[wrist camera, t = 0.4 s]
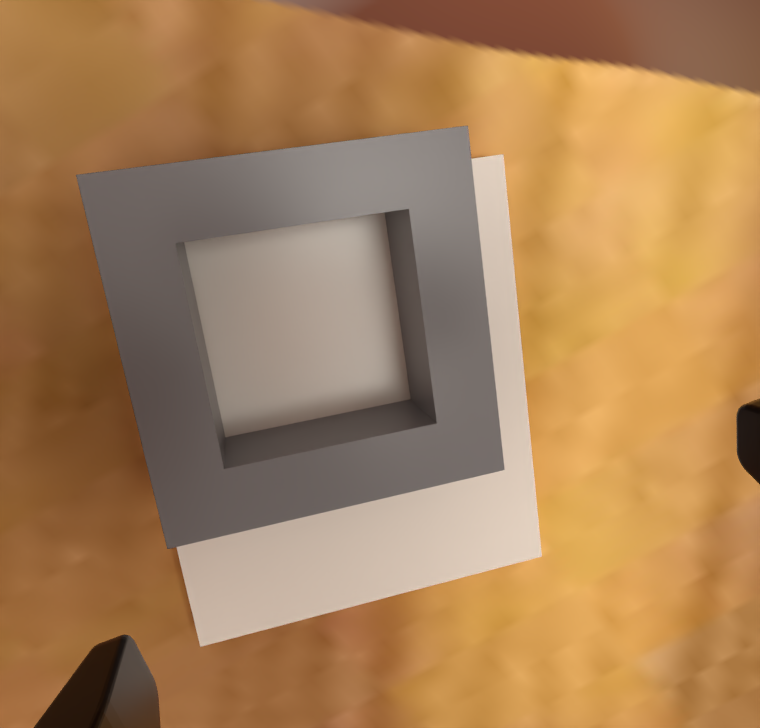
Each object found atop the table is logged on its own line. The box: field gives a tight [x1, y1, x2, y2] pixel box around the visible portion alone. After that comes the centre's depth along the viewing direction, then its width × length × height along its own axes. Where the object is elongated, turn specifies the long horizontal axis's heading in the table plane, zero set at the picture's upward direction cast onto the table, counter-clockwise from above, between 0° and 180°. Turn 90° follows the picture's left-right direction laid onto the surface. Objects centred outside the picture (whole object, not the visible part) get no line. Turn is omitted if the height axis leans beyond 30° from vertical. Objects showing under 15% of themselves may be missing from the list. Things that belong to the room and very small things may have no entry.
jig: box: [76, 126, 542, 647], centre depth 21 cm, size 16×13×4 cm
